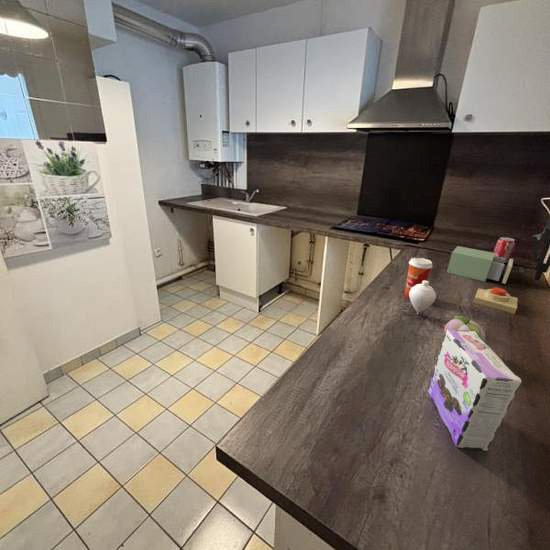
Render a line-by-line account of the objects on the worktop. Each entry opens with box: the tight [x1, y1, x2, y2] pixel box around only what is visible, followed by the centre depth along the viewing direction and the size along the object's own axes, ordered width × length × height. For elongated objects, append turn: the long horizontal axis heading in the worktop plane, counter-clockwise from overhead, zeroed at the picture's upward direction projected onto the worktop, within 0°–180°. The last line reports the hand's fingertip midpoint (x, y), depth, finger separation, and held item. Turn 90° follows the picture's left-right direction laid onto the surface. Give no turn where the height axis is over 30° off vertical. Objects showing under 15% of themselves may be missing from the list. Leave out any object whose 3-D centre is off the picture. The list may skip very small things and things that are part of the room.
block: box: [472, 287, 519, 315], centre depth 104 cm, size 12×10×4 cm
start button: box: [491, 286, 507, 296], centre depth 103 cm, size 4×4×2 cm
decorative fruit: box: [443, 315, 486, 342], centre depth 77 cm, size 9×8×10 cm
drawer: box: [486, 256, 524, 285], centre depth 124 cm, size 18×11×8 cm, turn 51°
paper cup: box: [404, 257, 434, 299], centre depth 105 cm, size 8×8×14 cm
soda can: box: [492, 236, 516, 264], centre depth 144 cm, size 7×7×12 cm
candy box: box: [427, 330, 522, 452], centre depth 55 cm, size 14×6×16 cm, turn 175°
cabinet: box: [446, 245, 495, 283], centre depth 129 cm, size 15×13×10 cm
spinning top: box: [409, 280, 437, 315], centre depth 93 cm, size 8×8×12 cm
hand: (536, 278), depth 116 cm, fingers closed
